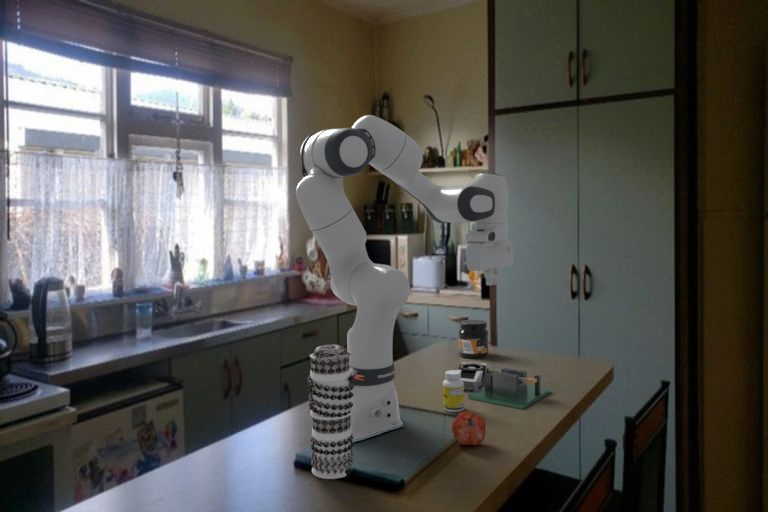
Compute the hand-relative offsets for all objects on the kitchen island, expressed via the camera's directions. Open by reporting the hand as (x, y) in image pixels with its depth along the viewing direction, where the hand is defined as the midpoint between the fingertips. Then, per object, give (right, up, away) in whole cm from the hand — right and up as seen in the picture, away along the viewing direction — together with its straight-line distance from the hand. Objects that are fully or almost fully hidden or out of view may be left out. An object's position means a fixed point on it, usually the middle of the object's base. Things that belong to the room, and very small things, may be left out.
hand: (491, 284), depth 168 cm
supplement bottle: (-11, -32, -8) cm, 35 cm away
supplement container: (+2, -27, +50) cm, 57 cm away
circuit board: (+6, -31, +3) cm, 31 cm away
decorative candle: (-39, -35, -44) cm, 69 cm away
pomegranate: (-10, -34, -31) cm, 47 cm away
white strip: (+6, -27, +3) cm, 27 cm away
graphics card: (-3, -30, +20) cm, 36 cm away
